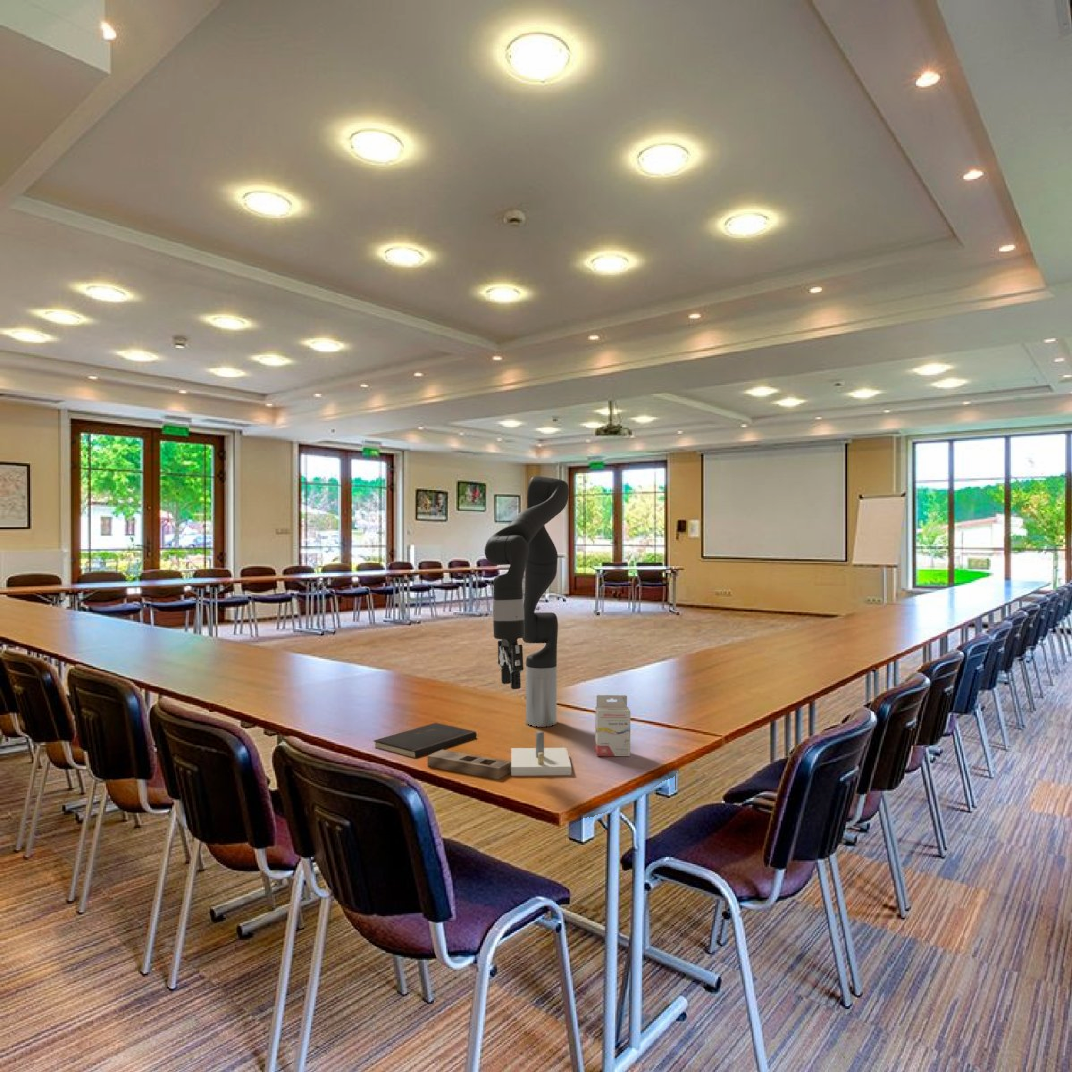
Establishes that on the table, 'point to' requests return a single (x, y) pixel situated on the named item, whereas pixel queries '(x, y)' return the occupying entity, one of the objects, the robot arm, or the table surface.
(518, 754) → the post base
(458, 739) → the hardcover book
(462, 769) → the walnut bar
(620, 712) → the ink cartridge box
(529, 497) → the robot arm
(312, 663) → the table surface
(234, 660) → the table surface
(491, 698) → the table surface
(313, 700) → the table surface
